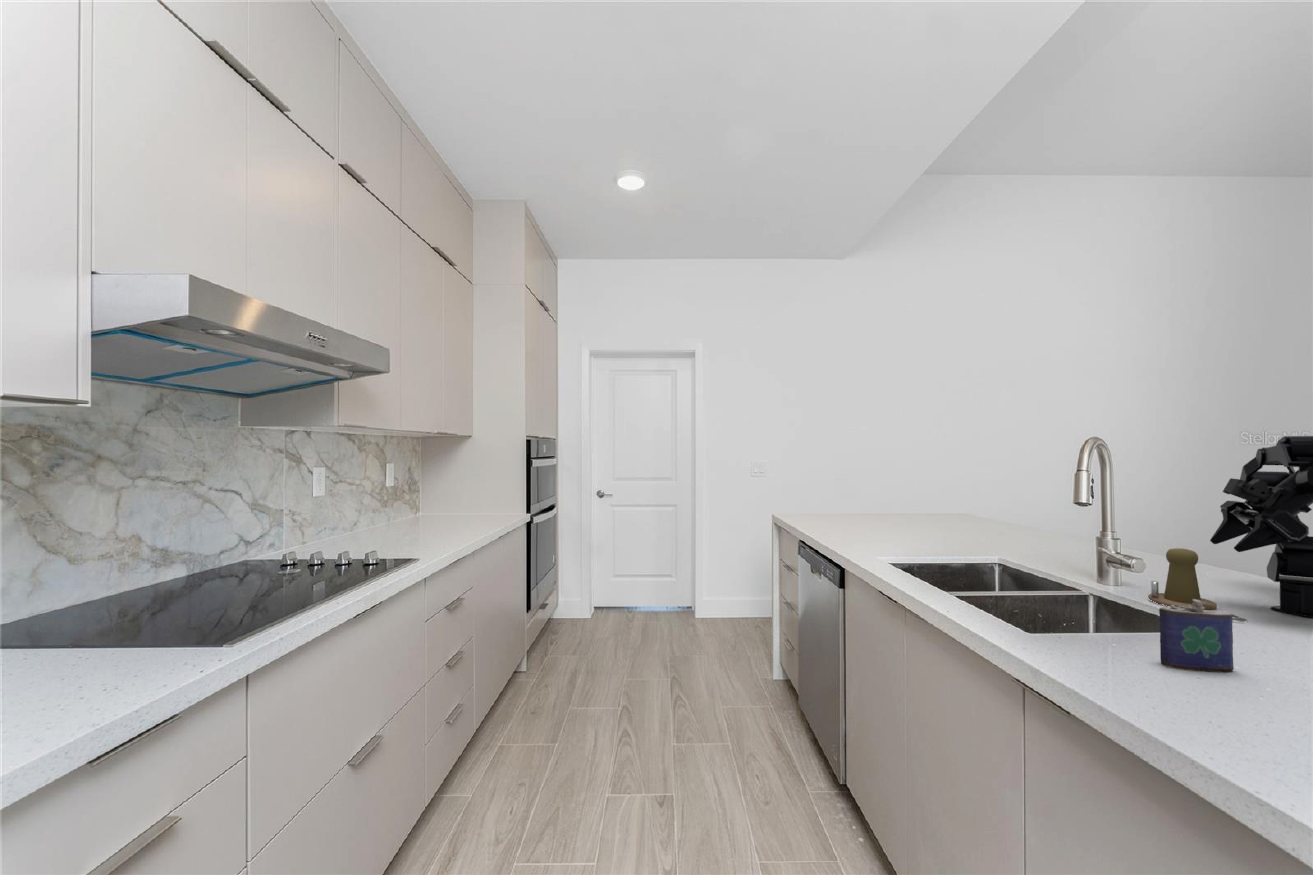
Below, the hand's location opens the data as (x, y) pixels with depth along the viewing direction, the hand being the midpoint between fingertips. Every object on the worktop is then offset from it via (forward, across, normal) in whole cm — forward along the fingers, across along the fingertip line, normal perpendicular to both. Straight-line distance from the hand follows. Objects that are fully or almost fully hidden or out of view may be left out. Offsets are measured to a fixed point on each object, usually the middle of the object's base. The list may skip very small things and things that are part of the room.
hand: (1223, 546), depth 119 cm
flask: (+23, +38, -4) cm, 45 cm away
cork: (+13, -5, +6) cm, 15 cm away
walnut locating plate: (+13, -5, +6) cm, 15 cm away
